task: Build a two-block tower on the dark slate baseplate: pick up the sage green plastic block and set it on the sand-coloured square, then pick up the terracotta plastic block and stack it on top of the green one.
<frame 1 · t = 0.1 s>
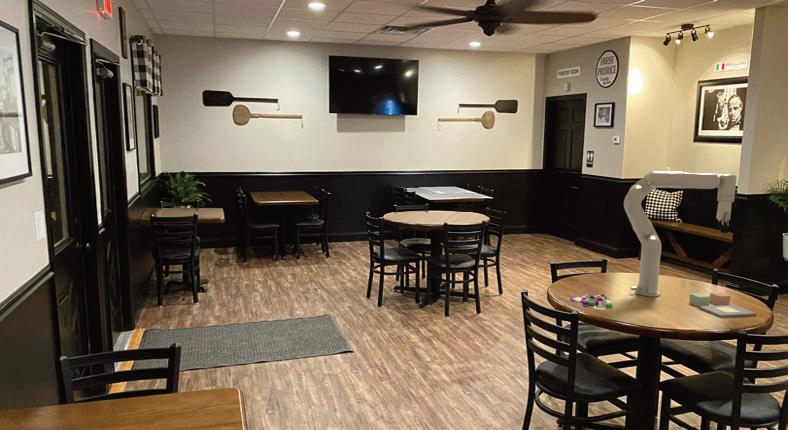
hand: (722, 231, 292), 37 cm above the table, tool pointing down, fingers open, 9 cm apart
sage green block: (699, 304, 291), on the table
building block set: (591, 303, 291), on the table
terracotta block: (719, 303, 294), on the table
slate baseplate: (727, 312, 278), on the table
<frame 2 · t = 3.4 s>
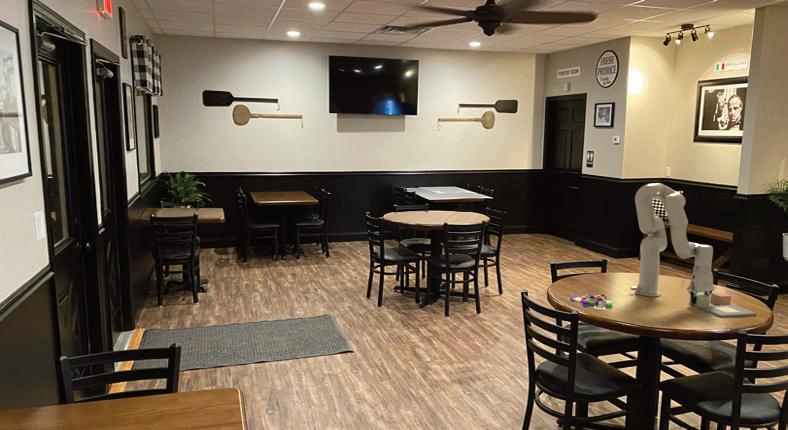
hand: (699, 303, 291), 1 cm above the table, tool pointing down, fingers closed on sage green block, 6 cm apart
sage green block: (699, 304, 291), on the table, touching gripper
everything else where it was.
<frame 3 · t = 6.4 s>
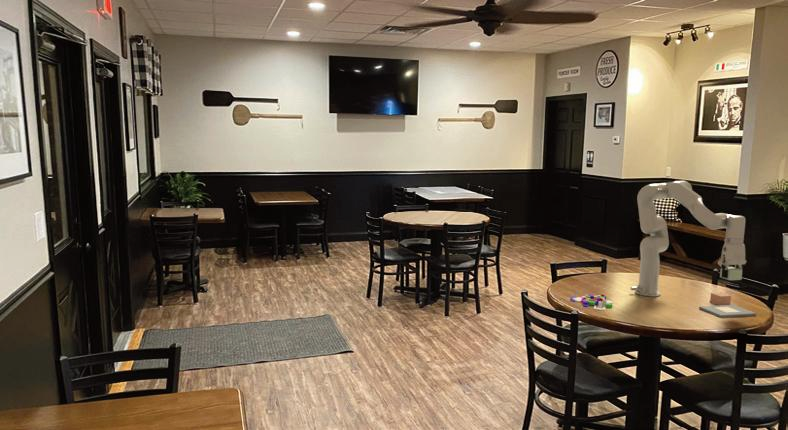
hand: (730, 276, 276), 18 cm above the table, tool pointing down, fingers closed on sage green block, 6 cm apart
sage green block: (730, 278, 276), point 17 cm above the table, touching gripper
everything else where it was.
when the fingers open (3 cm above the table, at t = 9.6 s): sage green block drops 1 cm, resting on slate baseplate.
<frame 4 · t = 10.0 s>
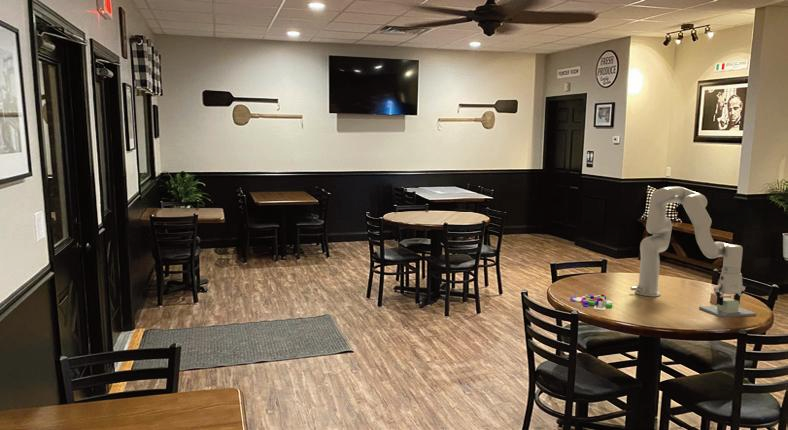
hand: (727, 304, 278), 4 cm above the table, tool pointing down, fingers open, 9 cm apart
sage green block: (727, 309, 278), point 1 cm above the table, touching slate baseplate
everything else where it was.
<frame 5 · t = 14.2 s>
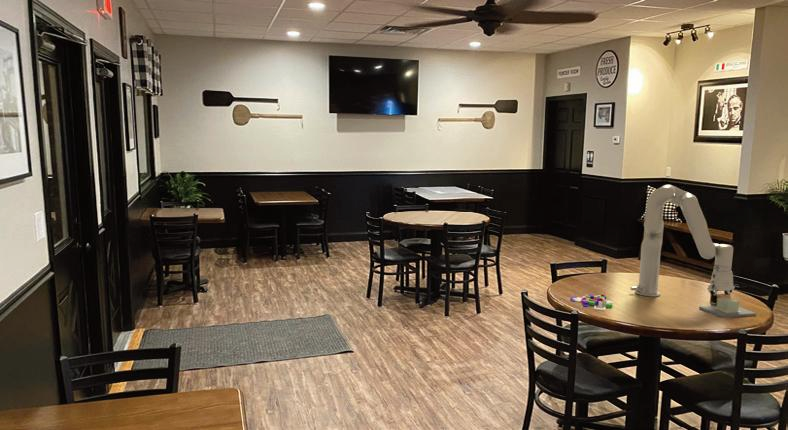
hand: (719, 301, 294), 1 cm above the table, tool pointing down, fingers closed on terracotta block, 6 cm apart
terracotta block: (719, 303, 293), on the table, touching gripper
everything else where it was.
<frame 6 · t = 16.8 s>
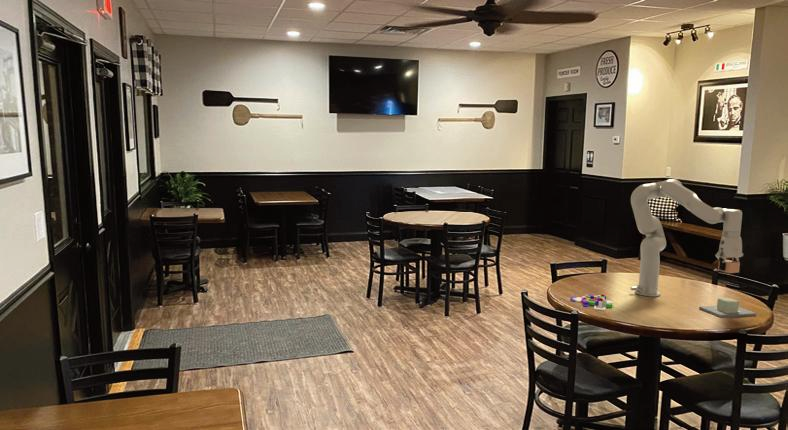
hand: (728, 269, 282), 20 cm above the table, tool pointing down, fingers closed on terracotta block, 6 cm apart
terracotta block: (728, 271, 282), point 19 cm above the table, touching gripper
everything else where it was.
when the fingers open (8 cm above the table, at t = 19.9 s): terracotta block drops 1 cm, resting on sage green block.
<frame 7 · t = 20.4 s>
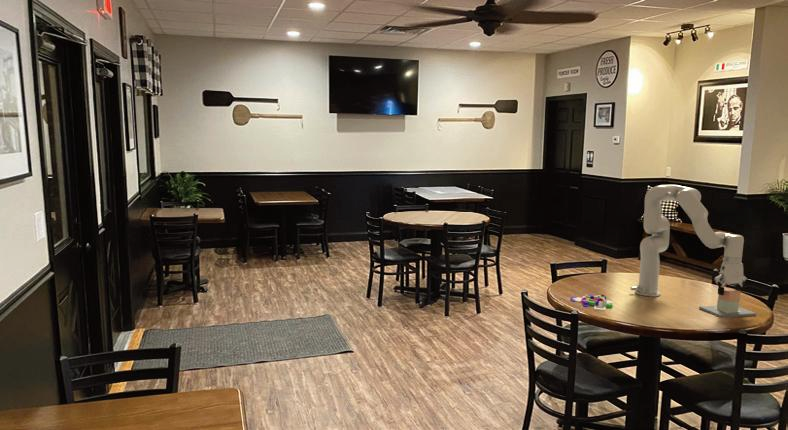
hand: (728, 294, 277), 9 cm above the table, tool pointing down, fingers open, 9 cm apart
sage green block: (727, 309, 278), point 1 cm above the table, touching slate baseplate, terracotta block
terracotta block: (728, 299, 277), point 6 cm above the table, touching sage green block
everything else where it was.
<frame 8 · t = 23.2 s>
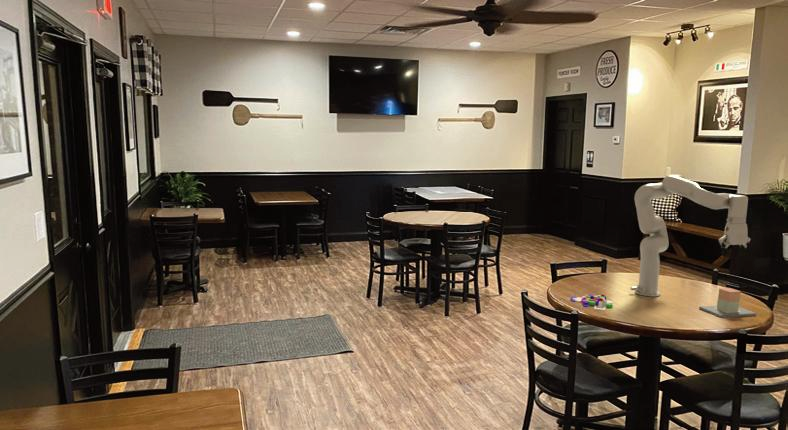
hand: (732, 255, 275), 28 cm above the table, tool pointing down, fingers open, 9 cm apart
nothing on the table moved.
at the end: sage green block 0.0 cm off-centre on the slate baseplate, point 1.3 cm above the slate baseplate's base; terracotta block 0.3 cm off-centre on the sage green block, point 5.0 cm above the sage green block's base; terracotta block tilted 0° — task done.
